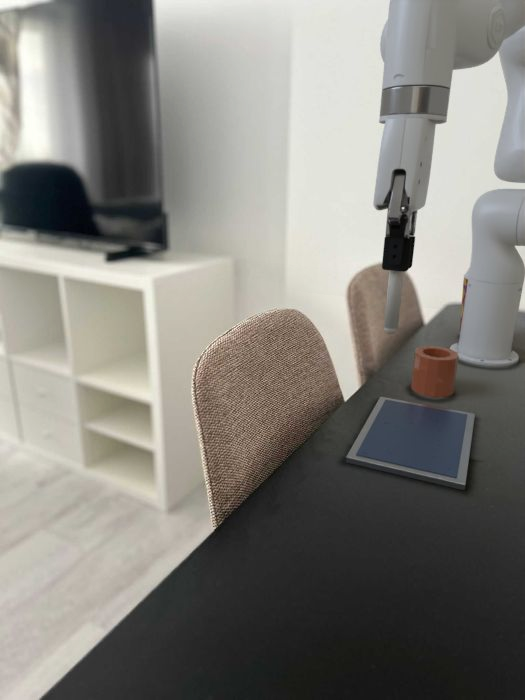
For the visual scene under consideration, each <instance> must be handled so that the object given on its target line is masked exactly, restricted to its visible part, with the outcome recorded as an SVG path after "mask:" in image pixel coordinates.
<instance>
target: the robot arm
mask: <svg viewBox="0 0 525 700" xmlns="http://www.w3.org/2000/svg"><path fill="white" fill-rule="evenodd" d="M387 14H388V15H387V20H386V22H385V24H384V25H383V28H382V31H381V36H380V43H379V49H380V50H379V51H380V55H381V59H382V62H383V73H382V74H383V75H382V83H381V84H382V85H381V97H380V106H379V107H380V108H379V109H380V110H379V120H378V123H380V124H383V125H384V127H383V131H382V136H381V142H380V149H379V154H378V155H379V156H378V162H377V169H376V170H377V171H376V178H375V186H374V193H373V194H374V195H373V203H372V204H373V208H374V209H375V210H376V211H384V210H387V213H386V225H385V236H384V240H383V250H382V251H383V252H382V262H381V268H382V270H384V271H389V270H391V271H403V272H404V273H405V272H408V271H409V269H411V268H412V266H413V262H414V261H413V260H414V252H415V243H416V236H415V235H416V226H417V218H418V211H419V210H421V209H423V208H424V207H425V206H426V202H427V196H428V191H429V186H430V178H431V172H432V171H431V169H432V161H433V154H434V144H435V135H436V127H437V125H442V124H445V123H447V122H448V121H447V119H448V112H449V104H450V103H449V102H450V97H451V96H450V95H451V88H452V80H453V72H454V71H457V70H466V69H471V68H477V67H479V66H482V65H484V64H486V63H488V62H489V61H491V60H492V59H493V58H494V57H495V56H496V54H498V56H499V61H500V67H501V70H502V75H503V78H504V82H505V87H506V92H507V93H506V94H507V96H506V97H507V101H506V107H505V112H504V115H503V116H504V117H503V121H502V125H501V129H500V133H499V138H498V142H497V146H496V150H495V155H494V161H493V173H494V175H495V177H497V179H499V180H501V181H504V182H508V183H515V184H516V183H517V184H525V0H389V4H388V13H387ZM517 247H525V188H497V189H491V190H488V191H486V192H484V193H482V194H481V195H480V196H478V197H477V199H476V201H475V202H474V204H473V206H472V211H471V254H470V261H469V262H470V264H469V268H470V270H469V277H468V283H467V290H466V297H465V304H464V311H463V318H462V324H461V331H460V330H459V339H458V342H455V343H453V344H451V345H450V347H449V349H451V350H453V351H455V352H457V353H458V355H459V358H458V360H461V361H464V362H467V363H471V364H475V365H481V366H491V367H505V366H511V365H515V364H517V363H519V360H520V359H519V358H520V356H519V354H518V353H517V352H516V351H514V350H513V349H512V347H513V342H514V337H515V331H516V327H517V320H518V316H519V310H520V303H521V299H522V294H523V289H524V288H523V287H524V283H525V263H524V260H523V258H522V256H521V255H520V253H519V251H518V250H517Z"/></svg>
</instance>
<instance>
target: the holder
mask: <svg viewBox="0 0 525 700" xmlns="http://www.w3.org/2000/svg"><path fill="white" fill-rule="evenodd" d="M458 358H459V355H458V353H457V352H455V351H453V350H451V349H450V348H447V347H444V346H443V347H442V346H436V345H424V346H419V347H417V348H416V349H415V350H414V355H413V364H412V365H413V366H412V373H411V381H410V383H411V384H410V388H411V390H412V391H413V392H415V393H416V394H418V395H421V396H425V397H430V398H446V397H450V396H452V395H453V394H454V392H455V384H456V377H457V373H458V372H457V371H458V364H459V359H458Z"/></svg>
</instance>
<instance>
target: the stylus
mask: <svg viewBox="0 0 525 700" xmlns="http://www.w3.org/2000/svg"><path fill="white" fill-rule="evenodd" d="M404 274H405V272H403V271H391V270H388V279H387V288H386V301H385V310H384V319H383V320H384V321H383V329H384V332H385V333H386V334H388V335H392V334H393V335H394V334H395V333H396V332H397V331H398V329H399V320H400V313H401V312H400V311H401V302H402V293H403V286H404V285H403V284H404V276H405V275H404Z"/></svg>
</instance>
